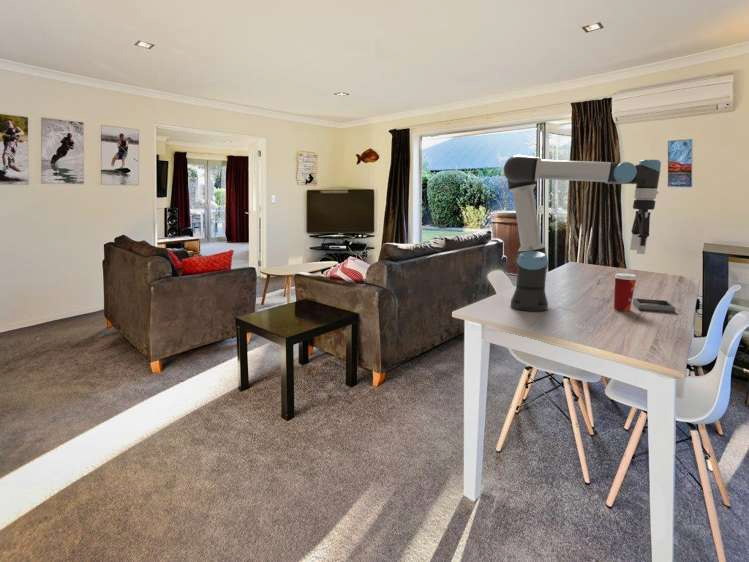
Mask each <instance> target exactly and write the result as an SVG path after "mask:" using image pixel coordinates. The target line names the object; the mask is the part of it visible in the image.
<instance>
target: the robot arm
mask: <svg viewBox="0 0 749 562" xmlns="http://www.w3.org/2000/svg"><path fill="white" fill-rule="evenodd" d="M661 165H662V161H661V160H659V159H642V160H640V161H639V163H638V164H634V163H632V162H629V161H623V162H615V161H614V162H610V161H585V160H582V161H581V160H556V159H554V160H553V159H541V158H540V156H528V155H523V154H516V155H513V156H511V157H509V158H508V159H507V160H506V162H505V164H504V166H503V172H504V173H503V174H504V176H505V178H506V179H507V186H508V191H509V192H510V193H512V196H513V202H514V208H515V209H514V210H515V217H516V223H517V230H518V236H519V237H518V238H519V244H520V246H519V248H518V249H517V256H518V257H517V260H516V262H517V267H516V269H517V270H516V282H515V283H516V285H515V290H514V293H513V294H512V297H511V299H510V307H511V306H512V307H513V309H515V308H516V310H518V309H520V310H519V311H523V310H525V312H543V311H547V310H548V309H549V302H548V298H547V294H546V281H547V270H548V267H549V260H548V255H547V252H546V251H547V250H546V246H545V245H544V244H542V242H541V235H540V228H539V221H538V215H537V214H538V213H537V207H536V199H535V193H534V189H535V187H536V186H537V182H538V180H551V181H552V180H554V181H571V182H574V181H577V182H597V183H604V184H609V185H610V184H611V185H635V189H634V196H633V197H634V200H633V204H632V209H633V210H636V211H635V215H634V219H633V224H632V227H631V241H630V246H629V250H631V251H636V255H637V254H638V255H646V248H647V240H648V238H649V236H650V221H651V220H650V219H651V218H650V217H651V212H649V211H653V210H655V206H656V200H655V199H656V198H657V195H658V194H659V191H658V187H659V181H660V174H661ZM512 307H511V308H512Z"/></svg>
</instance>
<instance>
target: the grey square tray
mask: <svg viewBox="0 0 749 562" xmlns="http://www.w3.org/2000/svg"><path fill="white" fill-rule="evenodd" d="M632 304H633V305H634V307H635V308H636V309H637V310H638V311H645V312H646V311H647V312H657V313H671V314H675V312H676V307H675V306H674V305H673V304H672V303H671V302H669V301H668V300H664V299H663V300H662V299H651V298H650V299H649V298H648V299H647V298H638V297H637V298H635V297H633V298H632Z"/></svg>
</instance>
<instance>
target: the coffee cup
mask: <svg viewBox="0 0 749 562" xmlns="http://www.w3.org/2000/svg"><path fill="white" fill-rule="evenodd" d="M637 279H638V278H637V275H636V274H633V273H626V272H624V273H623V272H621V273H620V272H618V273H616V274H615V276H614V296H613V310H616V311H620V312H630V311H631V308H632V307H631V306H632V304H633V298H634V297H633V296H634V292H635V287H636V281H637Z"/></svg>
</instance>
